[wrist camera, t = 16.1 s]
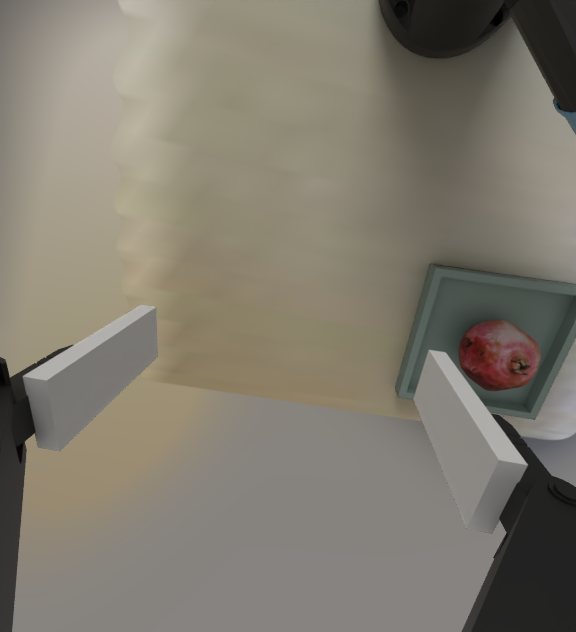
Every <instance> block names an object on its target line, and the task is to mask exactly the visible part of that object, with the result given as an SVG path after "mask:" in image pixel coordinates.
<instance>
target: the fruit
mask: <svg viewBox="0 0 576 632" xmlns="http://www.w3.org/2000/svg"><path fill="white" fill-rule="evenodd" d="M540 360H541V353H540V349H539V346H538V344H537V342H536V341H535V340H534V339H533V338H532V337H530V336H529V335H527V334H526V333H524V332H523V331H522V330H521V329H519V328H518V327H516V326H515V325H513V324H512V323H510V322H508V321H505V320H490V321H485V322H482V323H479V324H476V325H474V326H473V327H471V328H470V329H469V330H467V332H466V333H465V334H464V336H463V337H462V339H461V341H460V345H459V362H460V366H461V368H462V370H463V371H464V373H465V374H466V375H467V376H468V377H469V378H470V379H471V380H472V381H474V382H475V383H476V384H478V385H479V386H480V387H482V388H483V389H485V390H488V391H502V390H507V389H512V388H518V387H522V386H524V385H526V384H527V383H528V382H529V381H530V380H531V379H532V378H533V377H534V375H535V374H536V372H537V370H538V367H539V364H540Z"/></svg>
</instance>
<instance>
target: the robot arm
mask: <svg viewBox="0 0 576 632" xmlns="http://www.w3.org/2000/svg"><path fill="white" fill-rule="evenodd" d="M379 3H380V7H381V11H382V14H383V17H384V20H385V22H386V24H387V26H388V28H389V30H390V31H391V33H392V34H393V36H394V37H395V38H396V39H397V40H398V41H399V42H400V43H401V44H402V45H403V46H404V47H406V48H407V49H408V50H410V51H412V52H414V53H416V54H418V55H421V56H425V57H430V58H447V57H453V56H456V55H460V54H463V53H465V52H467V51H470V50H471V49H473V48H475V47H477V46H478V45H480V44H481V43H483V42H484V41H486V40H487V39H488V38H489V37H490V36H492V35H493V34H494V33H495V32H496V31H497V30H498V29H499V28H500V27H501V26H502V25H503V24H504V23H505V22H506V21H507V20H508V19H509V18H510V17H512V19H513V21H514V23H515V25H516V26H517V28H518V30H519V32H520V34H521V36H522V38H523V40H524V41H525V43H526V45H527V47H528V49H529V51H530V53H531V55H532V57H533V58H534V60H535V62H536V64H537V66H538V68H539V70H540V72H541V73H542V75H543V77H544V79H545V81H546V83H547V85H548V87H549V88H550V90H551V92H552V94H553V96H554V99H553V104H554V107H555V109H556V110H557V111H558V112H559V113H560V114H561V115H563V116H564V117H565V118H566V120H567V121H568V123H569V124H570V126H571V128H572V129H573V131H574V133H575V134H576V0H379ZM157 357H158V347H157V318H156V307H153V306H146V305H140V306H138V307H136V308H135V309H133V310H131V311H130V312H128V313H127V314H125V315H123V316H122V317H120V318H118V319H117V320H115V321H113V322H112V323H110V324H109V325H107V326H105V327H103V328H102V329H100V330H98V331H97V332H95V333H93V334H92V335H90V336H88V337H87V338H85V339H84V340H82V341H80V342H79V343H77V344H75V345H71V346H68V347H65V348H62V349H59V350H57V351H55V352H53V353H52V354H50V355H48V356H47V357H46V358H43V359H41V360H40V361H38V362H37V363H34V364H33V365H31V366H29V367H28V368H26V369H24V370H22V371H21V372H19V373H17V374H16V375H14V376H12V377H11V378H10V377H9V372H8V368H7V364H6V361H5V359H3V358H1V357H0V632H12V625H13V612H14V600H15V587H16V574H17V562H18V550H19V538H20V525H21V512H22V500H23V487H24V475H25V463H26V451H27V450H26V445H25V441H26V440H27V439H28V438H29V437H31V436H32V435H33V434H34V433H35V437H36V441H37V446H38V447H39V448H44V449H49V450H54V451H61V450H62V449H63V448H64V447H65V446H66V445H67V444H68V443H69V442H70V441H71V440H72V439H73V438H74V437H75V436H76V435H77V434H78V433H79V432H80V431H81V430H82V429H83V428H84V427H85V426H86V425H87V424H88V423H90V421H92V420H93V418H94V417H96V416H97V415H98V414H99V413H100V412H101V411H102V410H103V409H104V408H105V407H106V406H107V405H108V404H109V403H110V402H111V401H112V400H113V399H114V398H115V397H116V396H117V395H118V394H120V392H121V391H123V390H124V389H125V388H126V387H127V386H128V385H129V384H130V383H131V382H132V381H133V380H134V379H135V378H136V377H137V376H138V375H139V374H140V373H141V372H142V371H143V370H144V369H145V368H146V367H147V366H149V365H150V364H151V363H152V362H153V361H154V360H155V359H156V358H157ZM413 400H414V402H415V405H416V407H417V409H418V412H419V414H420V417H421V419H422V422H423V424H424V427H425V429H426V431H427V434H428V436H429V439H430V441H431V444H432V446H433V448H434V451H435V453H436V456H437V458H438V460H439V463H440V466H441V468H442V470H443V473H444V475H445V478H446V480H447V483H448V485H449V487H450V490H451V492H452V495H453V497H454V500H455V502H456V505H457V507H458V509H459V512H460V514H461V517H462V519H463V522H464V524H465V527H466V529H470V530H475V531H480V532H485V533H491V534H492V533H493V531H494V529H495V528H496V525H497V524H498V522H499V520H500V521H501V523H502V525H503V527H504V529H505V530H506V532H507V533H506V535H505V537H504V539H503V541H502V542H501V544H500V546H499V548H498V550H497V552H496V553H495V555H494V557H493V558H494V561H493V563H492V565H491V567H490V570H489V572H488V574H487V576H486V578H485V581H484V583H483V585H482V588H481V590H480V592H479V594H478V596H477V599H476V601H475V603H474V605H473V608H472V610H471V612H470V614H469V616H468V619H467V621H466V623H465V626H464V628H463V630H462V632H576V487H574V486H573V485H571V484H570V483H568V482H566V481H564V480H562V479H559V478H557V477H553V476H551V474H550V473H549V472H548V471H547V469H546V468H545V467H544V465H543V464H542V463H541V462H540V460H539V459H538V458H537V457H536V455H535V454H534V453H533V451H532V450H531V449H530V448H529V447H527V444H526V443H525V441H524V440H523V439H522V438H520V435H519V434H518V432H517V431H516V430H515V429H514V427H513V426H512V425H511V424H510V423H508V422H507V421H506V420H505V419H503V418H502V417H501V416H499V415H495V414H490V412H489V411H488V410H487V408H486V407H485V406H484V404H483V403H482V401H481V400H480V399H479V397H478V396H477V395H476V393H475V392H474V391H473V389H472V388H471V386H470V385H469V384H468V382H467V381H466V380H465V378H464V377H463V375H462V374H461V373H460V371H459V370H458V369H457V367H456V366H455V364H454V363H453V362H452V360H451V359H450V358H449V356H448V355H447V354H446V352H440V351H434V350H429V351H428V354H427V357H426V360H425V363H424V367H423V370H422V373H421V376H420V379H419V382H418V386H417V389H416V392H415V395H414V398H413Z"/></svg>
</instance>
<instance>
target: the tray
mask: <svg viewBox="0 0 576 632" xmlns="http://www.w3.org/2000/svg"><path fill="white" fill-rule="evenodd" d="M490 320H505V321H508V322H510V323H512V324H513V325H515V326H516V327H518V328H519V329H521V330H522V331H523V332H524V333H526V334H527V335H529V336H530V337H532V338H533V339H534V340H535V341H536V342H537V344H538V346H539V349H540V353H541V360H540V364H539V367H538V370H537V372H536V374H535V375H534V377H533V378H532V379H531V380H530V381H529V382H528V383H527V384H526V385H524V386H522V387H518V388H512V389H507V390H502V391H488V390H485V389H483V388H482V387H480V386H479V385H478V384H476V383H475V382H474V381H472V380H471V379H470V378H469V377H468V376H467V375H466V374H465V373H464V371H463V370H462V368H461V366H460V362H459V345H460V341H461V339H462V337H463V336H464V334H465V333H466V332H467V330H469V329H470V328H471V327H473V326H474V325H476V324H479V323H482V322H485V321H490ZM575 338H576V284H570V283H563V282H556V281H549V280H542V279H535V278H527V277H520V276H513V275H506V274H499V273H492V272H484V271H477V270H470V269H463V268H456V267H449V266H442V265H434V264H430V267H429V270H428V274H427V277H426V281H425V284H424V288H423V291H422V295H421V298H420V302H419V305H418V309H417V312H416V316H415V319H414V323H413V326H412V330H411V333H410V337H409V340H408V344H407V347H406V351H405V354H404V358H403V361H402V365H401V368H400V372H399V375H398V379H397V382H396V386H395V389H396V392H397V395H398V397H401V398H407V399H413V398H414V395H415V392H416V389H417V386H418V382H419V379H420V376H421V373H422V370H423V367H424V363H425V360H426V357H427V354H428V351H429V350H434V351H440V352H446V354H447V355H448V356H449V358H450V359H451V360H452V362H453V363H454V364H455V366H456V367H457V369H458V370H459V371H460V373H461V374H462V375H463V377H464V378H465V380H466V381H467V382H468V384H469V385H470V386H471V388H472V389H473V391H474V392H475V393H476V395H477V396H478V397H479V399H480V400H481V401H482V403H483V404H484V406H485V407H486V408H487V410H488V411H489V412H491V413H497V414H503V415H509V416H515V417H521V418H527V419H533V420H535V419H536V417H537V414H538V412H539V410H540V408H541V406H542V404H543V402H544V400H545V398H546V396H547V394H548V392H549V390H550V388H551V386H552V384H553V382H554V380H555V378H556V376H557V374H558V372H559V370H560V368H561V366H562V364H563V362H564V360H565V358H566V356H567V354H568V352H569V350H570V348H571V346H572V344H573V342H574V340H575Z"/></svg>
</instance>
